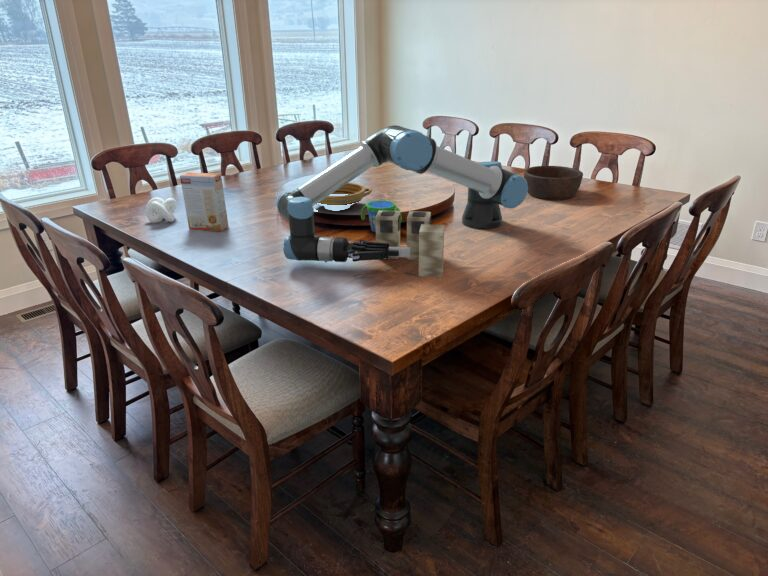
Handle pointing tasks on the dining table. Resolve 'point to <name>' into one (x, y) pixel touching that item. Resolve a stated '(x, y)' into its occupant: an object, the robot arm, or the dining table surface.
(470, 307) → the dining table surface
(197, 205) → the cracker box
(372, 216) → the snack cup
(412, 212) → the marked block 1
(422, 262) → the plain block
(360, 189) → the collapsible colander
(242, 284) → the dining table surface
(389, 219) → the marked block 2
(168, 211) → the white knot sculpture
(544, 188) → the wooden bowl
